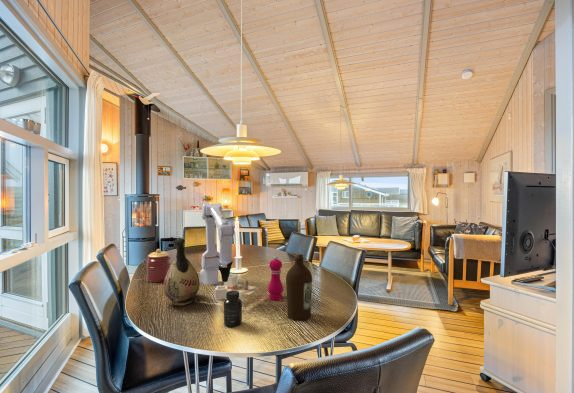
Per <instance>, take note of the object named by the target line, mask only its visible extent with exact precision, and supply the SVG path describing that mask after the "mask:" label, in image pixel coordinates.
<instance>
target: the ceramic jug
mask: <svg viewBox="0 0 574 393" xmlns="http://www.w3.org/2000/svg"><path fill="white" fill-rule="evenodd" d="M185 241H186V240H185V238H183V237H177V238H175V240H174V241H173V244H174V245H175V247H176V255H175V257H174V260H173V262H172V263H171V265H170V268H169V270H168V272H167V274H166V277H165V280H164V281H163V291H164V295H165V296H166V297H167V298H168V299H169V300H170V301H171V303H172V305H174V306H185V305H188V304H191V303H193V302H194V300H195V297H196V295H198V292H199V289H200V286H201V285H200V284H201V283H200V276H199V274H198V272H197V270H196V267H194V266H193V264H192V263H191V262H190V260H189V259H188V258H187V257H186V254H185Z"/></svg>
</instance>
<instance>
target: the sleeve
mask: <svg viewBox="0 0 574 393" xmlns="http://www.w3.org/2000/svg"><path fill="white" fill-rule="evenodd" d="M215 289H216V290H215V300H226V299H227V298H226V293H227V286H222V285H217V286H216V287H215ZM215 303H216V304H218V303H219V302H216V301H215Z"/></svg>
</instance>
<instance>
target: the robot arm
mask: <svg viewBox="0 0 574 393" xmlns="http://www.w3.org/2000/svg"><path fill="white" fill-rule="evenodd" d="M200 210H201V219H202V220H204V222H205V236H206V237H205V238H206V243H205V244H206V250H205V251H204V252H203V253H202V255H201V260H200V261H201V262H200V263H201V268H202V269H201V270H199V271H200V272H199V282H200V284H203V285H207V286H212V285H217V284H219V272H220V275H221V281H222V282H223V283H224V282H227V281H228V277H229V275H230V274H231V269H232V265H233V263H234V262H235V260H236V259H235V258H233V236H234V235H235V227H234V225H233V223H229V221H228V219H227V218H226V216H225V215H223V214H222V213H223V206H222V204H221V203H203V204H202V205H201V209H200ZM215 228H216V229H217V235H218V241H219V251H217V249H216V248H217V247H216V229H215Z"/></svg>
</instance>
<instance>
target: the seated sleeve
mask: <svg viewBox="0 0 574 393" xmlns="http://www.w3.org/2000/svg"><path fill="white" fill-rule="evenodd" d="M238 277H239V276H238V274H232V273H230V275H229V277H228V281H227V282H223V285H224V286H227V289H234V288H236V287H238V282H239V281H238Z"/></svg>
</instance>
